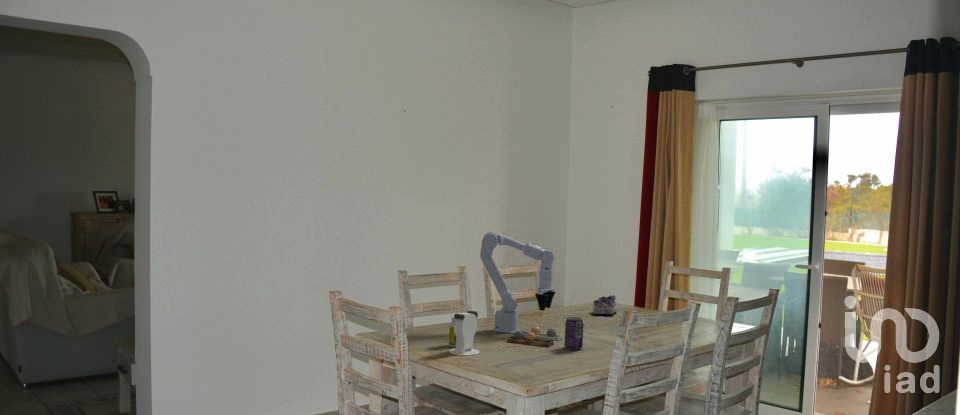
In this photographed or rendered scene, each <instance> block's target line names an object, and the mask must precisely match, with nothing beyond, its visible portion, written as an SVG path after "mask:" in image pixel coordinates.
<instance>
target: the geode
mask: <svg viewBox="0 0 960 415" xmlns="http://www.w3.org/2000/svg"><path fill="white" fill-rule="evenodd" d="M616 298H617V297H616V296H615V294H613V295H609V296H605V295H604V296H601V297H598V299H594V300H593V306H592V314H593V313H594V314H593V315H595V314H605V315H604V316H613V315H615V314H616V313H615V312H618V311H617V307H616V306H617V305H616ZM614 313H615V314H614Z"/></svg>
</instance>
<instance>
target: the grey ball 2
mask: <svg viewBox="0 0 960 415" xmlns="http://www.w3.org/2000/svg"><path fill="white" fill-rule="evenodd" d="M546 334H547V336H548V337H555V336H556V335H557V331H556V330H555V329H554V328H551V327H550V328H549V329H547V330H546Z"/></svg>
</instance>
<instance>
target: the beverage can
mask: <svg viewBox="0 0 960 415" xmlns="http://www.w3.org/2000/svg"><path fill="white" fill-rule="evenodd" d="M583 341H584V321H583V318H582V317H579V316H578V317H577V316H568V317H566V320H565V325H564V348H566V349H567V350H570V349H571V351H573V350H574V351H579V350H581V349H583V346H584V342H583ZM578 349H579V350H578Z"/></svg>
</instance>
